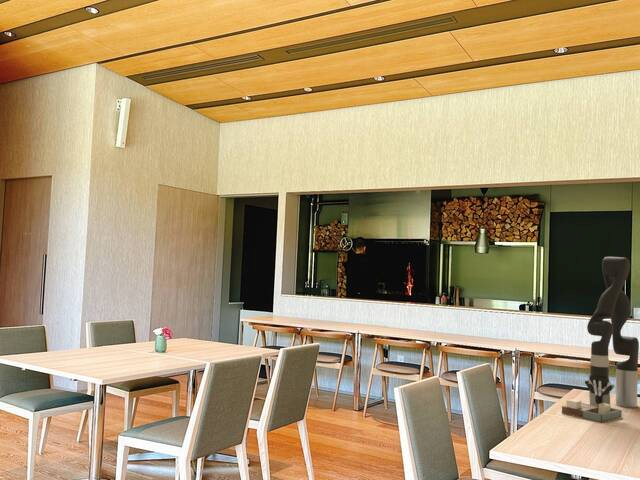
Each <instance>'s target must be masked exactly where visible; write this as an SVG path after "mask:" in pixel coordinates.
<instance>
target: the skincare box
mask: <svg viewBox="0 0 640 480" xmlns="http://www.w3.org/2000/svg"><path fill="white" fill-rule="evenodd" d="M590 376H591V374H590V373H588V379H589V378H590ZM608 378H609V379H610V376H609V377H608ZM592 386H593V384H592ZM593 387H594V386H593ZM607 388H608V387H607V386H606V387H605V390H606V389H607ZM605 390H604V391H605ZM588 391H589V392H588V393H589V394H588V395H589V404H590V405H595V406H599V404H596V402H595V394H593V393H591V391H590V390H589V389H588ZM603 403H606V404H610V405H611V391H610V392H609V393H608V394H607V395H604V396H603ZM610 408H612V407H611V406H610Z"/></svg>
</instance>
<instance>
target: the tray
mask: <svg viewBox="0 0 640 480" xmlns="http://www.w3.org/2000/svg"><path fill="white" fill-rule="evenodd" d="M622 411H623V410H622V409H618V408H614V407H611V408H610V412H609V413H605V414H597V413H592V412H587V411H583V418H584V419H583V418H582V419H583V420H589V421H593V422H597V423H605V422H609V421H613V420H617V419H621V418H622V415H623V414H622Z"/></svg>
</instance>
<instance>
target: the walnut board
mask: <svg viewBox="0 0 640 480" xmlns="http://www.w3.org/2000/svg"><path fill="white" fill-rule="evenodd" d="M598 410H599V406H595V405H590V403H584V402H581V408H578V409H574V408H569V407H567V404H566V405H562V406H561V414H563V415H570V416H573V417H577V418H581V417H582V419H583V411H587V412H592V413H597V414H598Z"/></svg>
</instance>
